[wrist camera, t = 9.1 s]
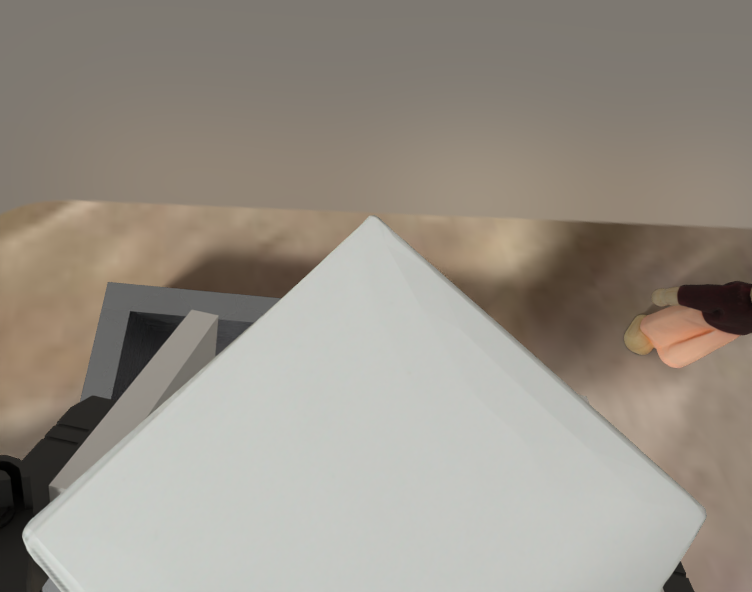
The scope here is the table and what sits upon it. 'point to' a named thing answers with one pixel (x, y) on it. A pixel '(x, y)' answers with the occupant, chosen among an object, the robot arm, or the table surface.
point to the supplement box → (370, 460)
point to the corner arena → (155, 332)
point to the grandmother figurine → (692, 322)
